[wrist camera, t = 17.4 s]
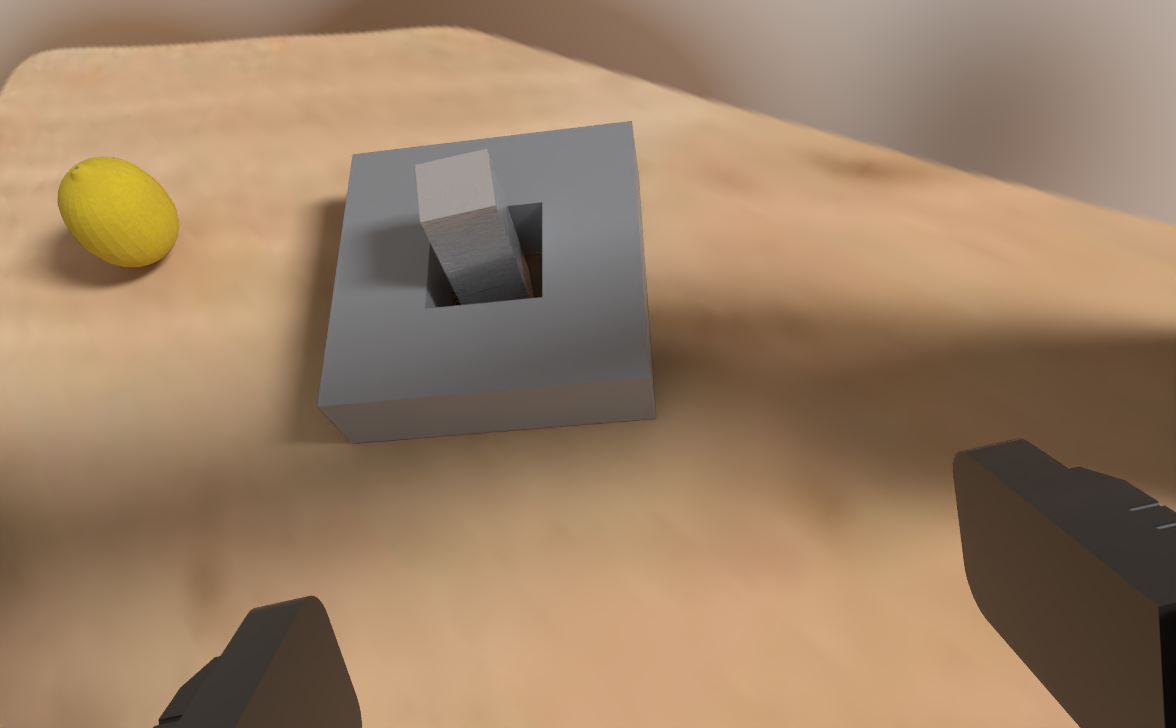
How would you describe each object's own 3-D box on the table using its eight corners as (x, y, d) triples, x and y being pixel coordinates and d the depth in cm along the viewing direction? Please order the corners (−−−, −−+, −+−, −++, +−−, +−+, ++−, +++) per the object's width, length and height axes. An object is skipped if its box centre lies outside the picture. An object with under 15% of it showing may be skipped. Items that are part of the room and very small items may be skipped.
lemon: (221, 240, 53) (145, 151, 46) (156, 305, 51) (66, 223, 44) (165, 206, 55) (84, 116, 48) (100, 268, 53) (7, 184, 46)
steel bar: (529, 270, 49) (487, 148, 40) (537, 320, 47) (495, 205, 38) (469, 283, 49) (415, 164, 40) (475, 334, 47) (420, 222, 38)
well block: (638, 175, 51) (631, 121, 47) (656, 418, 43) (649, 377, 39) (380, 204, 53) (352, 154, 49) (352, 443, 45) (316, 406, 41)
